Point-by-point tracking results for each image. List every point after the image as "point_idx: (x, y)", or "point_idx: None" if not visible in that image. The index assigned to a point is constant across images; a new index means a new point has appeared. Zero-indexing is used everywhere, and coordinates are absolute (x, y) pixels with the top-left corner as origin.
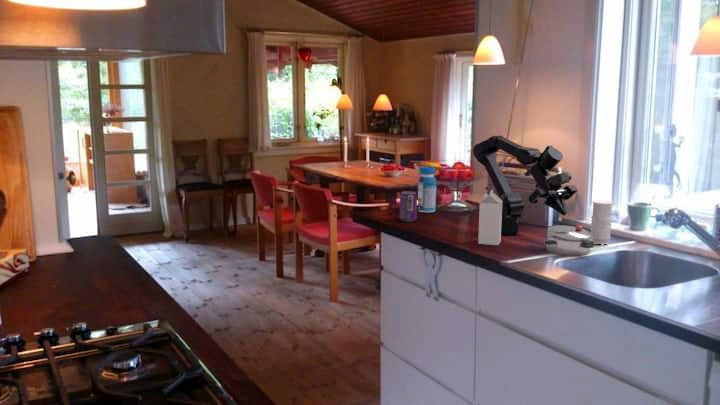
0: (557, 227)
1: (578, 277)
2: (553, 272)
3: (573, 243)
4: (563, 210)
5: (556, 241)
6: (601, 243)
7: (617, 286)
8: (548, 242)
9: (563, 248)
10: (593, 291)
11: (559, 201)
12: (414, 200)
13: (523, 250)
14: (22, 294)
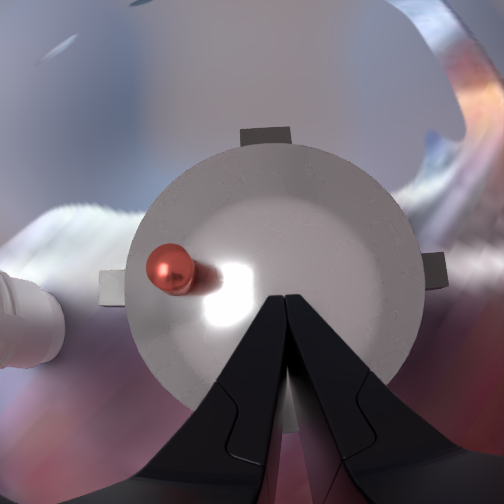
0: (289, 385)
1: (447, 61)
2: (489, 113)
3: None
4: (315, 311)
5: None
6: (50, 300)
7: (395, 5)
8: (442, 262)
9: None
10: (453, 19)
11: (354, 428)
12: None
13: (455, 385)
14: None
